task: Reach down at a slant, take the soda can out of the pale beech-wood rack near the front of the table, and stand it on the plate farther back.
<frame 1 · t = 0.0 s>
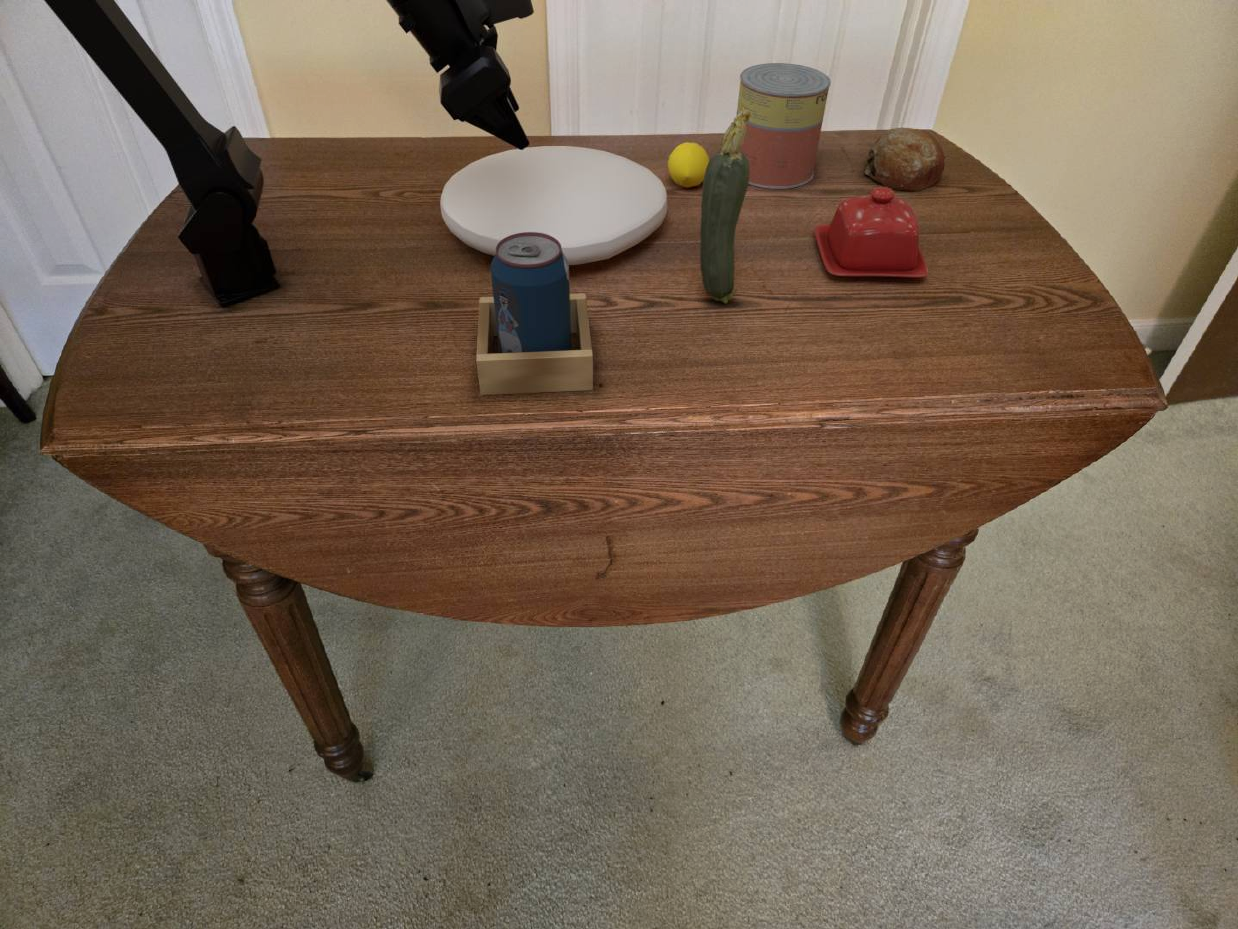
hand: (520, 128, 83), 15 cm above the table, tool tilted 35°, fingers open, 9 cm apart
canned food: (771, 171, 111), on the table
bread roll: (902, 176, 111), on the table
plate: (556, 225, 99), on the table
lemon: (687, 185, 108), on the table
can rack: (536, 359, 79), on the table
soda can: (536, 361, 79), resting in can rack
vegetable: (712, 301, 88), on the table
butter dish: (866, 260, 94), on the table
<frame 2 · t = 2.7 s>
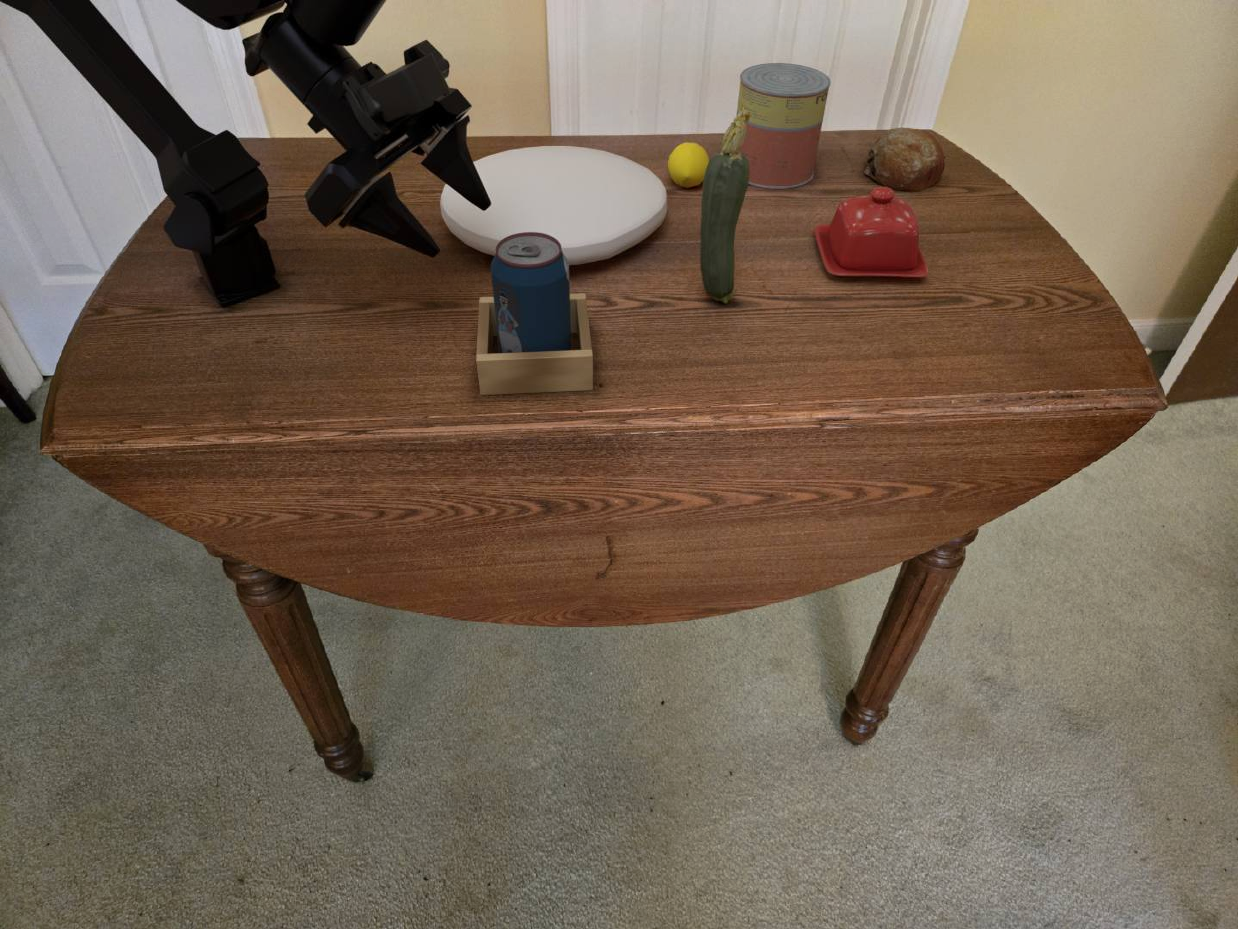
hand: (463, 230, 72), 12 cm above the table, tool tilted 45°, fingers open, 9 cm apart
nothing on the table moved.
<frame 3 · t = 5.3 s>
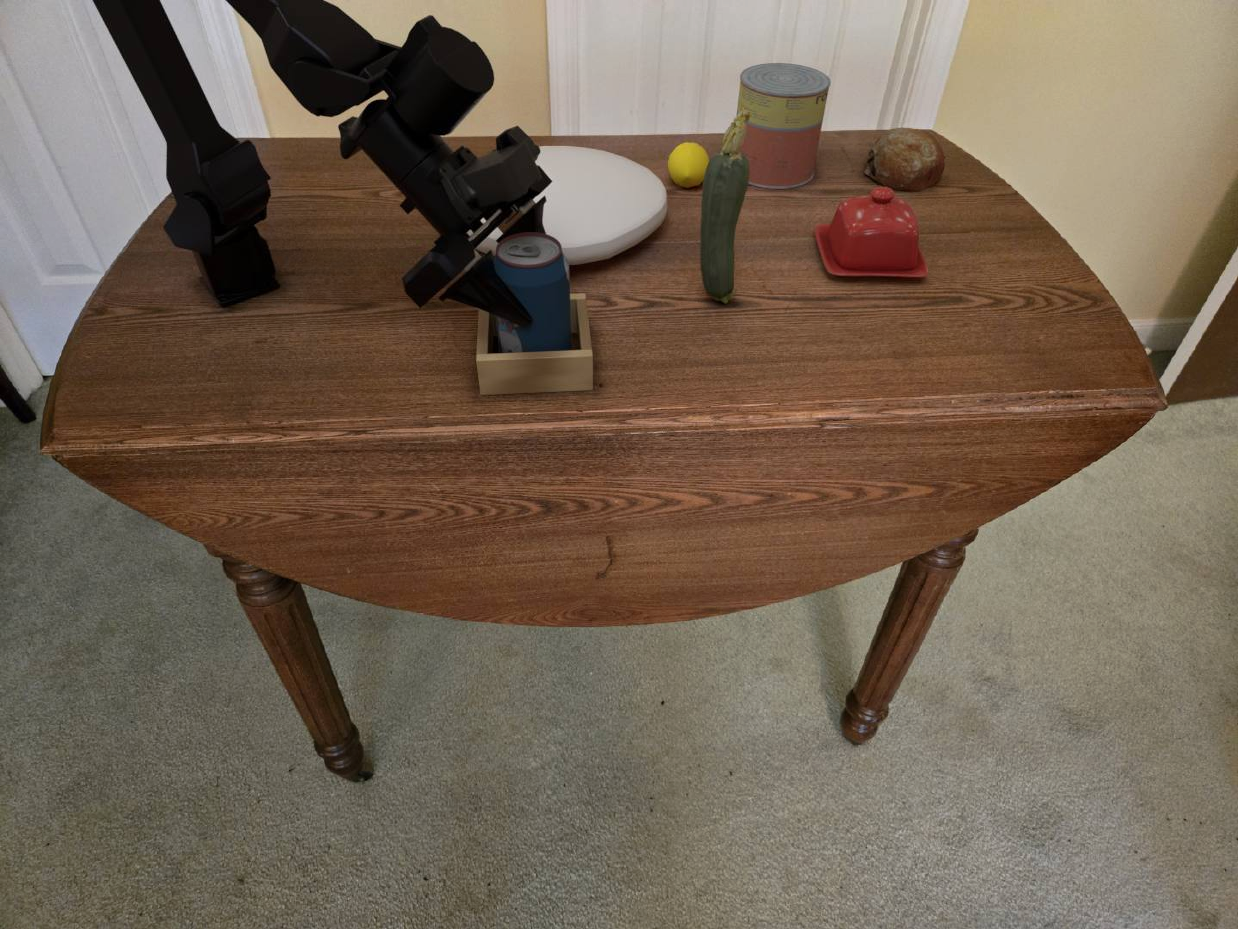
hand: (546, 304, 74), 7 cm above the table, tool tilted 45°, fingers closed on soda can, 7 cm apart
soda can: (536, 361, 79), resting in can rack, touching gripper
everything else where it was.
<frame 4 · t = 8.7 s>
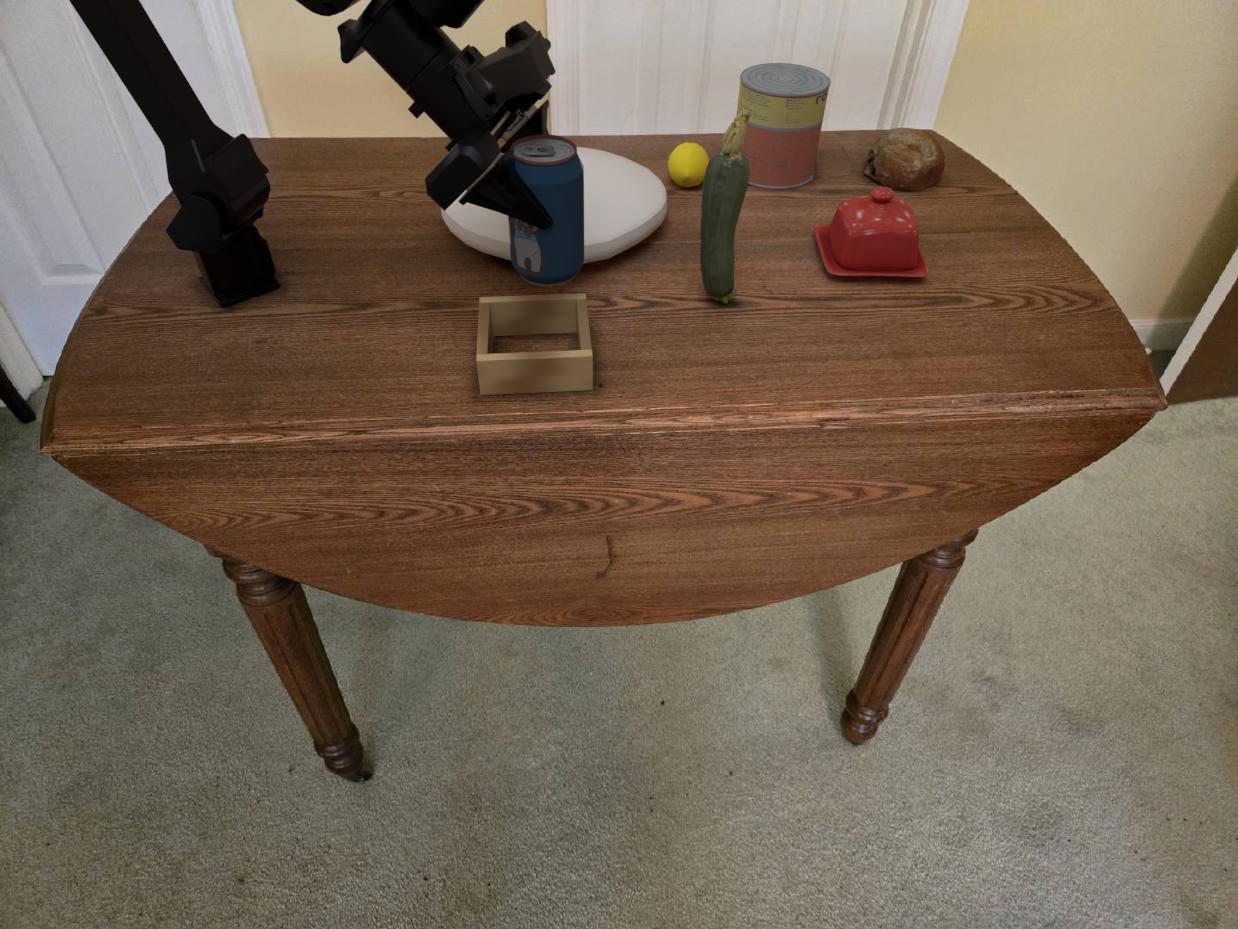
hand: (560, 208, 74), 13 cm above the table, tool tilted 45°, fingers closed on soda can, 7 cm apart
soda can: (548, 272, 79), point 6 cm above the table, touching gripper
everything else where it was.
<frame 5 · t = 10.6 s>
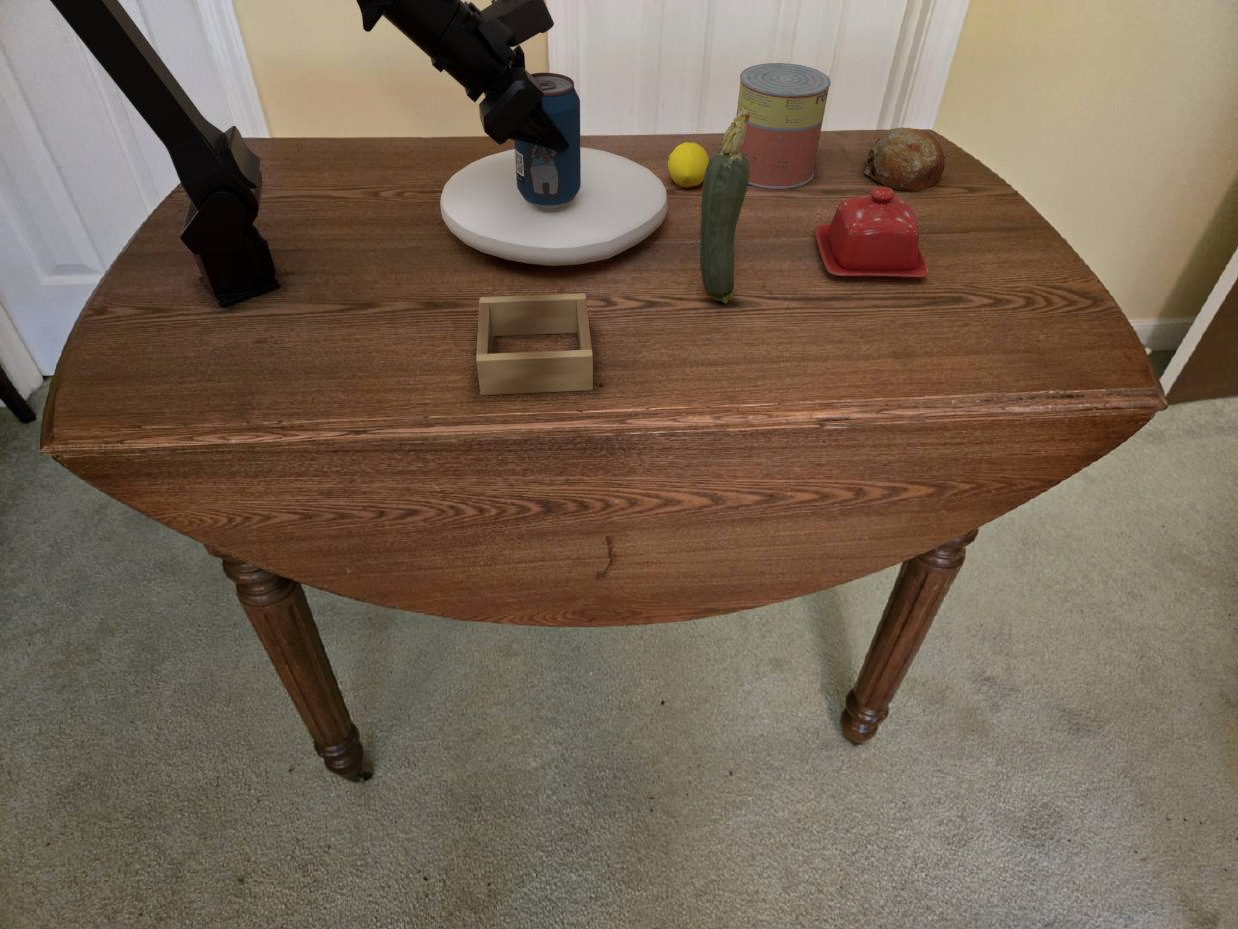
hand: (559, 134, 86), 13 cm above the table, tool tilted 45°, fingers closed on soda can, 7 cm apart
soda can: (549, 197, 90), point 6 cm above the table, touching gripper
everything else where it was.
when the fingers open (13 cm above the table, at t = 12.4 s): soda can stays where it is, resting on plate.
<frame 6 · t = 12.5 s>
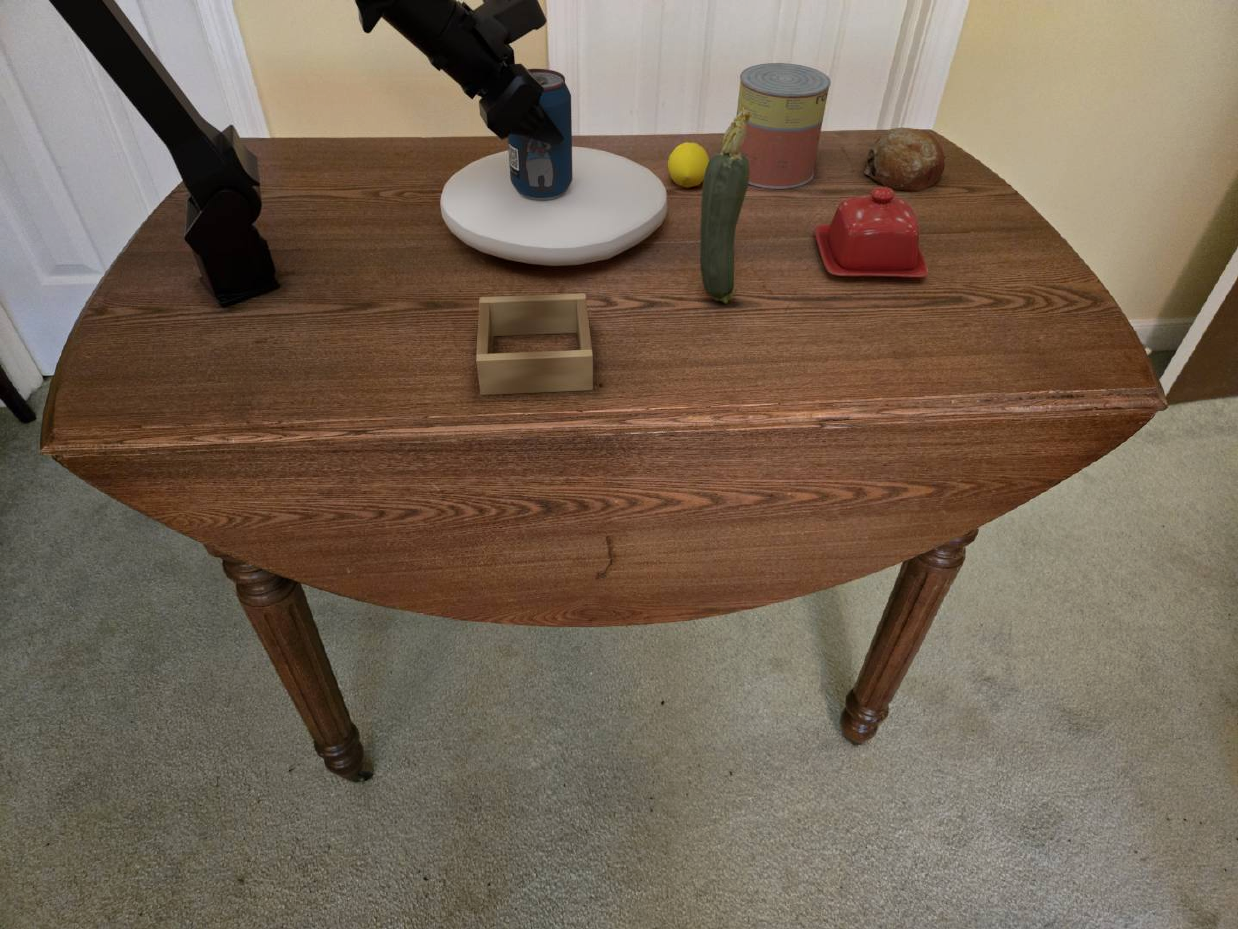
hand: (551, 128, 88), 13 cm above the table, tool tilted 45°, fingers open, 7 cm apart
plate: (556, 225, 99), on the table, touching soda can
soda can: (542, 190, 93), point 6 cm above the table, touching plate
everything else where it was.
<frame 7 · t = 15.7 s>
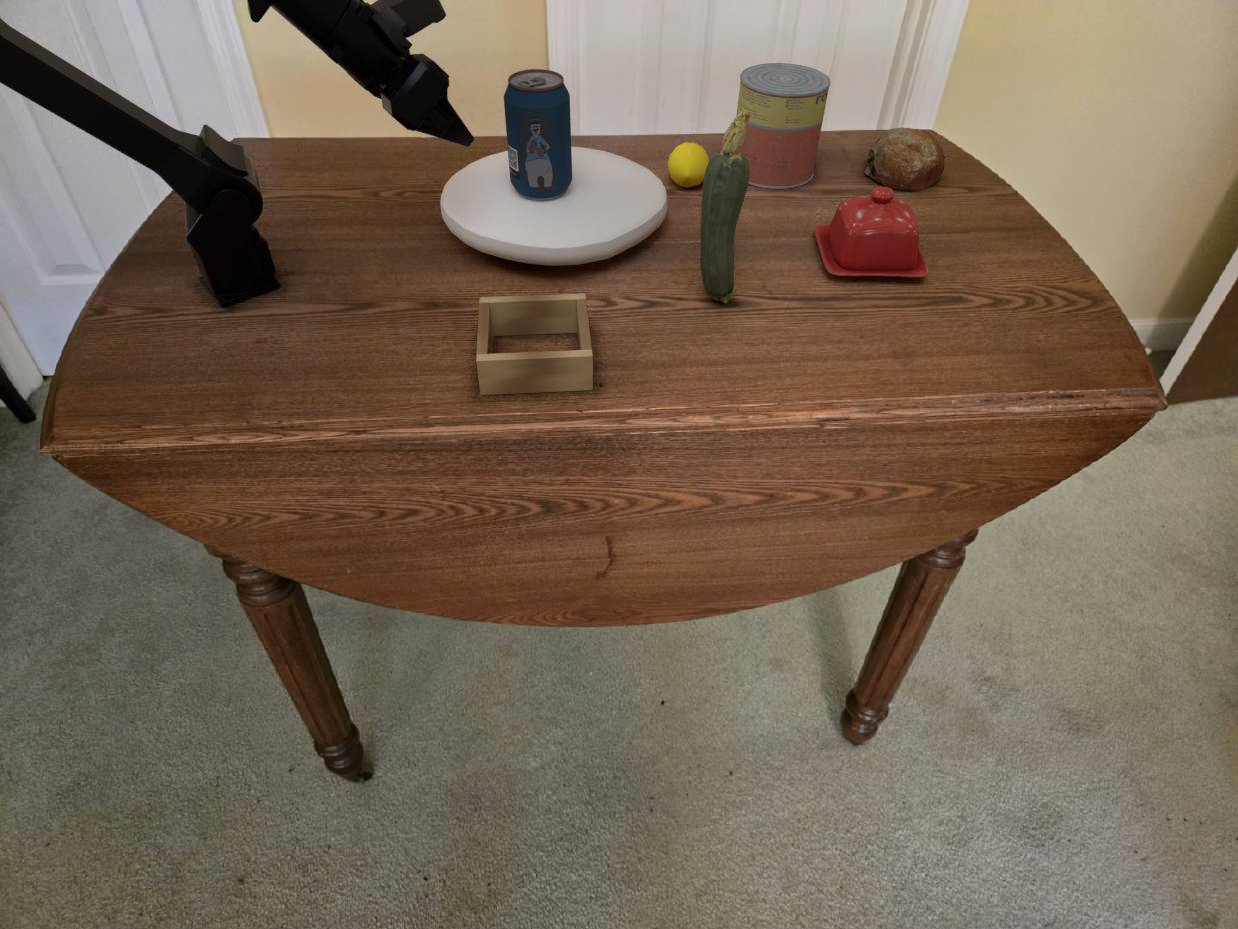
hand: (456, 130, 86), 13 cm above the table, tool tilted 40°, fingers open, 9 cm apart
plate: (556, 225, 99), on the table
soda can: (542, 191, 93), point 6 cm above the table
everything else where it was.
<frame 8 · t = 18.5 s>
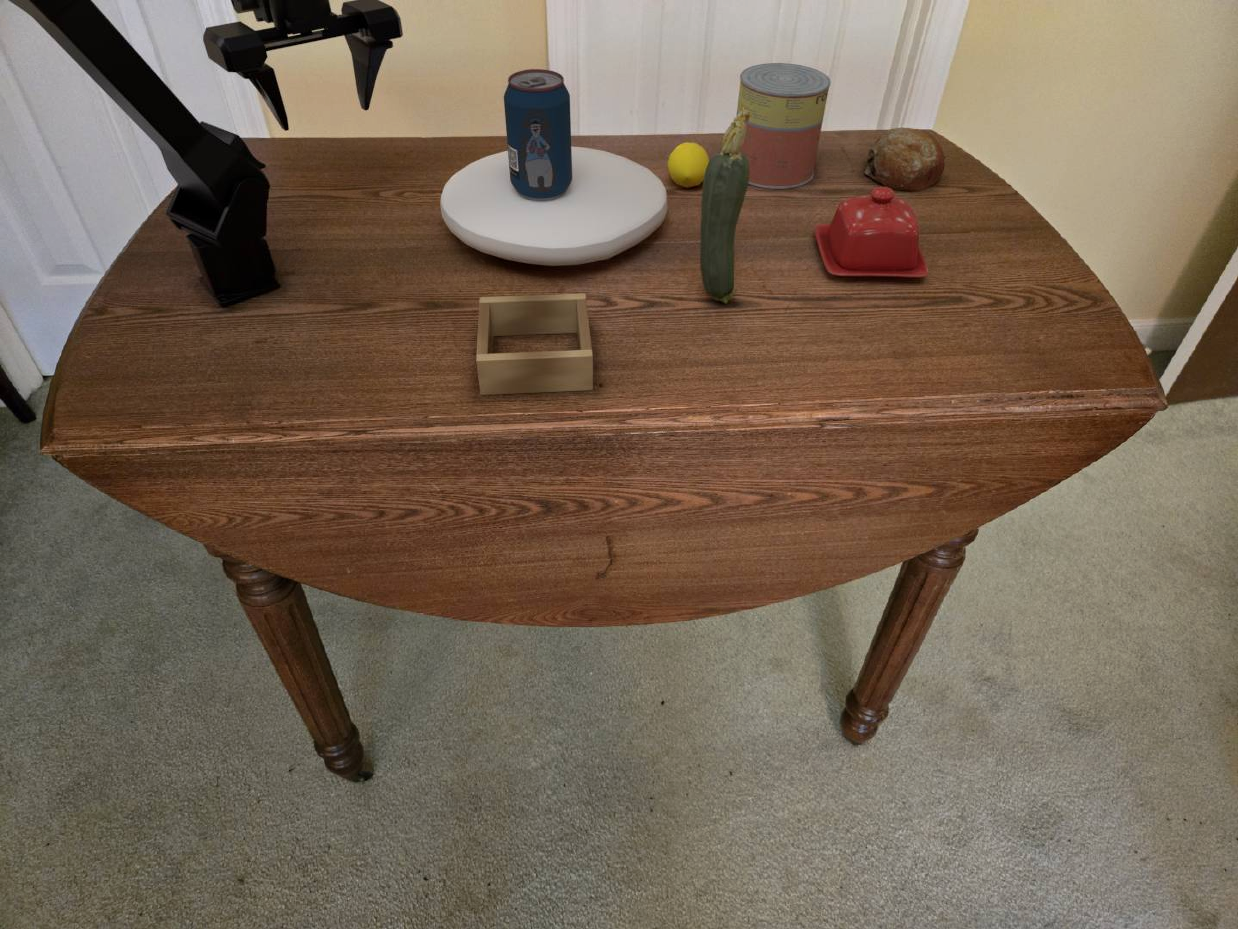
hand: (326, 118, 88), 13 cm above the table, tool pointing down, fingers open, 9 cm apart
plate: (556, 225, 99), on the table, touching soda can
soda can: (542, 191, 93), point 6 cm above the table, touching plate
everything else where it was.
at the end: soda can inside the target area in the plate (3.8 cm from its centre), point 6.0 cm above the plate's base; soda can tilted 0°; the gripper is holding nothing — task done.
